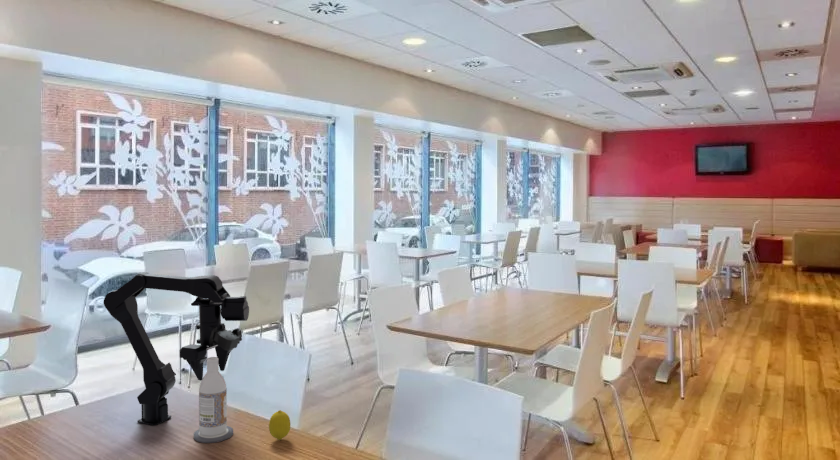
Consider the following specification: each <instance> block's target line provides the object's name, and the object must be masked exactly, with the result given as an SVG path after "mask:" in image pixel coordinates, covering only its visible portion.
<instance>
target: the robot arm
mask: <svg viewBox="0 0 840 460" xmlns="http://www.w3.org/2000/svg"><path fill="white" fill-rule="evenodd" d="M145 289H151V290H161V291H171V292H172V291H173V292H183V293H186V294H189V295H191V296H194V297H196V298H195V299H194V301H192V303H190V304H191V305H190V306H194V307H198V313H199V314H198V316H199V317H198V319H199V324H196V325H195V327H196V330H199V338H197V339H196V344H192V343H191V344H188V345H185V346H182V347H181V348H180V349H179V358H180V359H183V360H185V361H186V363H188V365H189V366H190V367H191V370H192V371H193V373H194V374H195V377H196V379H197V381H202V379H203V377H204V362H205V361H207V358H208V356H206V355H207V353H208V352H207V351H208V350H211V349H215V350H214V351H215V354H216V357H218V359H219V360H218V364H219V371H221V372H224V371H225V368H226V366H227V362H228V360H229V357H230V354H231V352H232V350H234V349H236V348H238V344H240V343H241V341H242V340H243V338H242V337H243V333H242V329H241V328H238V327H237V328H235V329H232V330H231V329H229V330H228V329H226V325H225V323H223V322H222V319H224V320H225V321H226V322H228V321H229V322H232V321H233V322H247V321H248V318H249V315H250V307H249V303H248V301H247V296H246V295H244V296H231V294H230V293H229V292H228V291H227V290H226V289H225V286H223V281H222V280H221V278H220V277H219V276H218V275H215V274H214V275H213V274H207V275H199V276H198V275H197V276H192V277H191V276H190V277H189V276H177V275H167V274H158V273H157V274H156V273H149V272H145V271H144V272H141V273H138V274H136V275H135V276H133V278H131V279H130V280H129V281H128V282H126V283H125V284H123V285H122V286H119V288H118V289H116V290H112V291H109V292H108V293H107V294H106V295H105V297H104V298H103V301H102V302H103V306H104V308H105V309H106V310H107V311H108V313H109V314H110V316H111V317H112V318H113V319H115V320H116V321H117V322H119V324H120V325H121V327H122V329H123V331H124V333H125V335H126V337H127V338H128V341H129V343H130V345H131V347H132V349H133V351H134V353H135V355H136V357H137V359H138V361H139V363H140V366H141V368H142V370H143V371H142V373H143V374H142V375H143V377H142V378H143V384H144V387H145V389H144V390H143V391H142V392H140V393H139V395H138V396H137V397H136V398H137V401H138V405H141V418H140V419H137V420H136V421H137V423H140V424H144V425H150V426H157V425H159V424H162V423H164V422H166V421H167V420H170V419H171V418H172V415H169V405H168V399H167V398H166V396H167V395H168V394H169V393H170V390H171V389H173V387H174V386H175V384H176V381H177V380H176V379H177V378H176V376H177V374H176V372H175V371H174V370H173V366H172V363H171V362H168V363H166V364H165V363H164V362H163V361H161V359H160V358H159V356H158V354H157V352H156V350H155V348H154V346H153V343H152V341H151V338H150V337H149V336H148V333H147V331H146V330H145V328H144V325H143V323H142V321H141V320H140V318H139V314H138V313H139V310H138V307H139V306H138V302H137V297H138V296H139V295H140V294H142V292H144V291H145ZM199 344H200V345H199Z"/></svg>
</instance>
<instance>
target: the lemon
mask: <svg viewBox="0 0 840 460" xmlns="http://www.w3.org/2000/svg"><path fill="white" fill-rule="evenodd" d="M268 421H269V423H268V429H269V434H270V435H271V436H272V437H273V438H275V439H277V440H278V441H281V440H283V438H285V437H286V436H288V434H289V433H290V430H291V419H290V416H289V415H288V413H286V412H285V411H282V410H281V409H279V410H278V411H276V412H274V413H273V414H272V415H270V419H269V420H268Z"/></svg>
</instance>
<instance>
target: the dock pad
mask: <svg viewBox="0 0 840 460" xmlns="http://www.w3.org/2000/svg"><path fill="white" fill-rule="evenodd" d="M233 435H234V428H233V427H231V426H229V425H227V429H226V431H225V432H224V433H222V434H220V435H216V436H204V435H201V434H200V432H199V428H198V429H197V430H195V431H194V432H193V439H194V441H196V442H198V443H203V444H212V443H213V444H214V443H215V444H216V443H219V442H222V441H226V440H228V439H230V438H232V437H233Z"/></svg>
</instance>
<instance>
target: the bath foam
mask: <svg viewBox="0 0 840 460" xmlns="http://www.w3.org/2000/svg"><path fill="white" fill-rule="evenodd" d="M218 360H219V359H218V357H217V356H211V357H207V358H206V373H205V374H204V375H203V378H202V380H200V383H199V387H198V414H199V415H198V425H199V426H198V427H199V428H198V429H199V432H200V434H201V435H204V436H216V435H220V434H222V433H224V432H225V431H226V429H227V426H228V424H227V423H228V422H227V420H228V419H227V418H228V416H227V415H228V414H227V407H228V405H227V402H228V401H227V399H228V398H227V391H228V390H227V383H226V381H225V377H223V375H222V374H221V373H220V368H219V364H218Z"/></svg>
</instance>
